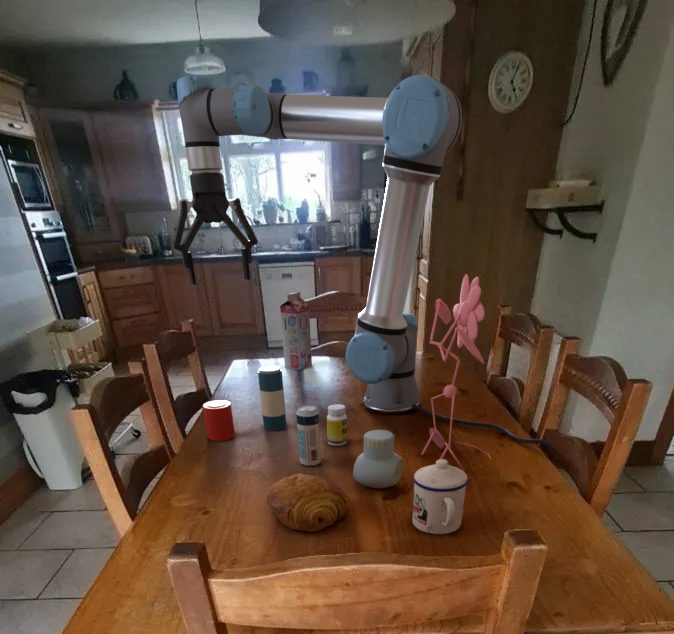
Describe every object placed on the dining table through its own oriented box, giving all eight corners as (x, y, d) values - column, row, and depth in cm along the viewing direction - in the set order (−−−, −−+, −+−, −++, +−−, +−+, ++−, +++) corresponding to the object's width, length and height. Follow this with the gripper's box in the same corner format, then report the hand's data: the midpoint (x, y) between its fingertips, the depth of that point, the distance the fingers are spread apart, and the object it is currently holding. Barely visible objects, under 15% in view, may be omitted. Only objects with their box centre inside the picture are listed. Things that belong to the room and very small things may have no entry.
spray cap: (240, 434, 136) (236, 401, 131) (223, 442, 132) (217, 409, 127) (220, 429, 139) (215, 398, 134) (202, 438, 134) (196, 405, 130)
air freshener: (390, 496, 106) (391, 447, 100) (350, 491, 109) (349, 442, 102) (404, 474, 114) (406, 427, 108) (367, 469, 117) (367, 423, 111)
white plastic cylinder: (324, 459, 122) (322, 405, 114) (316, 468, 118) (313, 412, 111) (304, 457, 123) (300, 403, 116) (296, 465, 119) (292, 410, 112)
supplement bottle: (345, 446, 127) (344, 410, 122) (325, 445, 128) (324, 409, 123) (349, 439, 131) (348, 403, 126) (330, 438, 132) (328, 403, 127)
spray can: (291, 424, 140) (286, 366, 132) (277, 432, 136) (271, 372, 128) (272, 421, 143) (267, 364, 134) (259, 428, 139) (252, 369, 130)
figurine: (442, 489, 108) (461, 287, 87) (407, 442, 128) (416, 269, 107) (515, 481, 110) (551, 282, 89) (470, 436, 130) (490, 265, 109)
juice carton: (311, 365, 188) (308, 292, 175) (300, 369, 183) (295, 295, 170) (296, 362, 191) (291, 291, 178) (284, 367, 186) (279, 294, 173)
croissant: (286, 551, 95) (283, 513, 90) (258, 503, 105) (254, 466, 100) (361, 530, 99) (362, 493, 94) (327, 486, 109) (327, 450, 104)
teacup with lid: (405, 513, 101) (408, 452, 94) (453, 509, 101) (460, 448, 94) (422, 547, 91) (427, 482, 84) (475, 541, 92) (484, 477, 85)
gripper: (254, 171, 129) (264, 275, 141) (146, 174, 121) (167, 284, 134) (264, 170, 123) (273, 278, 136) (152, 173, 115) (173, 287, 128)
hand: (221, 281), depth 135 cm, fingers open, 13 cm apart
